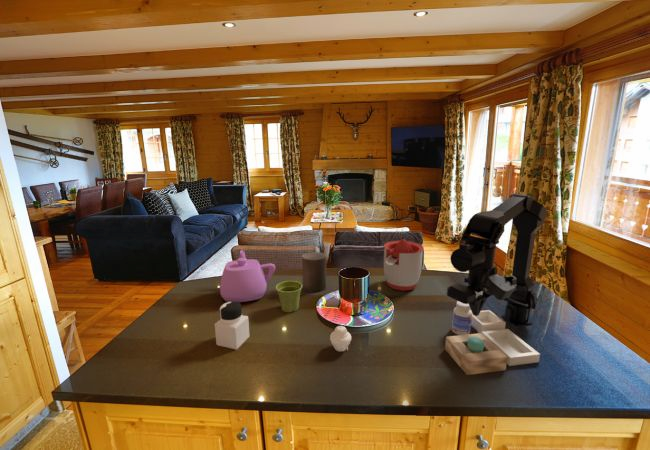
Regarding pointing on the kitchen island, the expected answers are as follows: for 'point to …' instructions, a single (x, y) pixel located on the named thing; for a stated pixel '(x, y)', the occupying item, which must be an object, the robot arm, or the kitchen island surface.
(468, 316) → the pill bottle
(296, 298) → the plant pot
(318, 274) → the pillar candle
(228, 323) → the medicine bottle
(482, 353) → the square wooden tray
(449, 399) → the kitchen island surface
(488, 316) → the white tray box
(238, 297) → the teapot
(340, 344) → the white rounded piece
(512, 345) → the shallow white tray
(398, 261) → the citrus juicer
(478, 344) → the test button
